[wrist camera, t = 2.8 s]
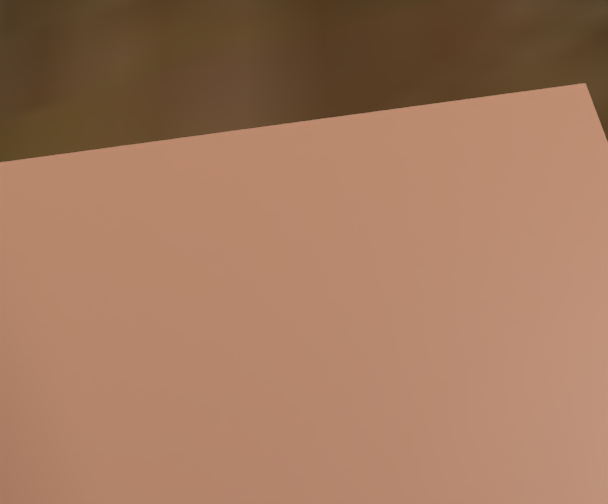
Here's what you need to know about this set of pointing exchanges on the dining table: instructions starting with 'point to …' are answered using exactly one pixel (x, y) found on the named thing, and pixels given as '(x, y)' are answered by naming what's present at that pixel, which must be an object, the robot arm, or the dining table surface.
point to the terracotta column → (314, 312)
